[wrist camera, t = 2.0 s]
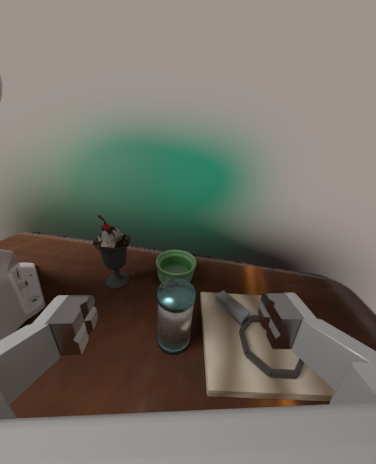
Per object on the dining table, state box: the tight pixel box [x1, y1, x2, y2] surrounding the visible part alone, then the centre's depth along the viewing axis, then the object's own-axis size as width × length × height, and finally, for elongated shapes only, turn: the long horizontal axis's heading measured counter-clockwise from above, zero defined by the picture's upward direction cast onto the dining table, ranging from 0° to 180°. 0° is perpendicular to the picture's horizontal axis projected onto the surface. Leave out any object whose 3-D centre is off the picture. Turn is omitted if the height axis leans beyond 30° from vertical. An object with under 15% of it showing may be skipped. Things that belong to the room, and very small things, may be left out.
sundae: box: [93, 215, 131, 289], centre depth 36 cm, size 7×7×15 cm
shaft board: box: [200, 290, 335, 401], centre depth 30 cm, size 20×16×4 cm
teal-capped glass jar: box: [157, 278, 196, 355], centre depth 27 cm, size 5×5×10 cm
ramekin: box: [156, 250, 196, 283], centre depth 41 cm, size 9×9×4 cm
